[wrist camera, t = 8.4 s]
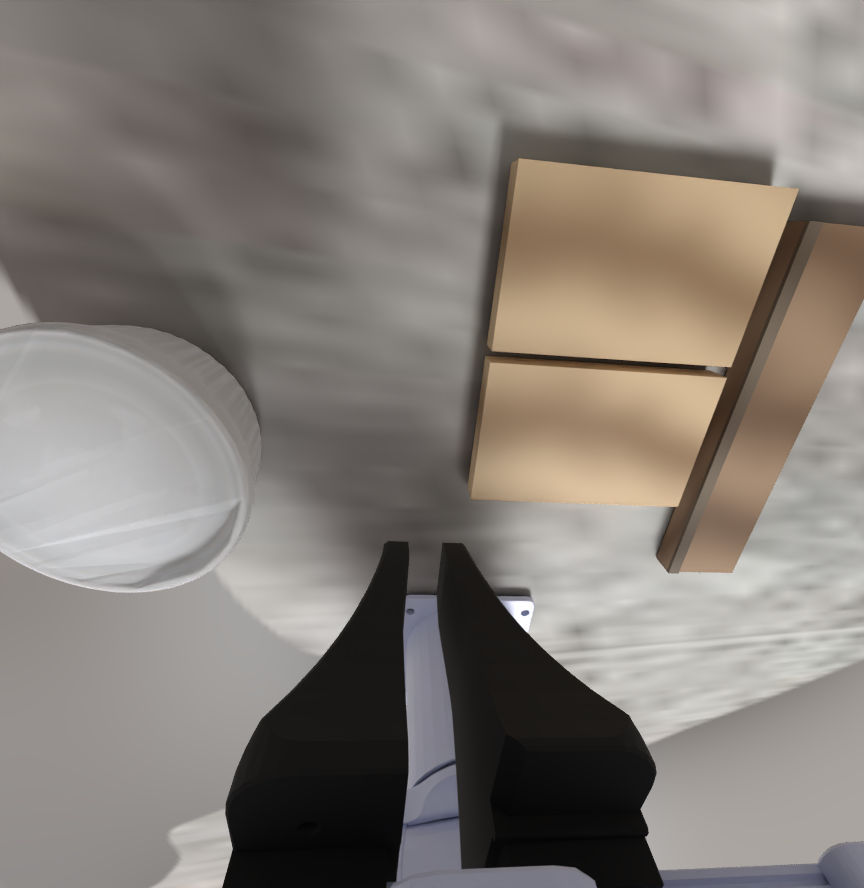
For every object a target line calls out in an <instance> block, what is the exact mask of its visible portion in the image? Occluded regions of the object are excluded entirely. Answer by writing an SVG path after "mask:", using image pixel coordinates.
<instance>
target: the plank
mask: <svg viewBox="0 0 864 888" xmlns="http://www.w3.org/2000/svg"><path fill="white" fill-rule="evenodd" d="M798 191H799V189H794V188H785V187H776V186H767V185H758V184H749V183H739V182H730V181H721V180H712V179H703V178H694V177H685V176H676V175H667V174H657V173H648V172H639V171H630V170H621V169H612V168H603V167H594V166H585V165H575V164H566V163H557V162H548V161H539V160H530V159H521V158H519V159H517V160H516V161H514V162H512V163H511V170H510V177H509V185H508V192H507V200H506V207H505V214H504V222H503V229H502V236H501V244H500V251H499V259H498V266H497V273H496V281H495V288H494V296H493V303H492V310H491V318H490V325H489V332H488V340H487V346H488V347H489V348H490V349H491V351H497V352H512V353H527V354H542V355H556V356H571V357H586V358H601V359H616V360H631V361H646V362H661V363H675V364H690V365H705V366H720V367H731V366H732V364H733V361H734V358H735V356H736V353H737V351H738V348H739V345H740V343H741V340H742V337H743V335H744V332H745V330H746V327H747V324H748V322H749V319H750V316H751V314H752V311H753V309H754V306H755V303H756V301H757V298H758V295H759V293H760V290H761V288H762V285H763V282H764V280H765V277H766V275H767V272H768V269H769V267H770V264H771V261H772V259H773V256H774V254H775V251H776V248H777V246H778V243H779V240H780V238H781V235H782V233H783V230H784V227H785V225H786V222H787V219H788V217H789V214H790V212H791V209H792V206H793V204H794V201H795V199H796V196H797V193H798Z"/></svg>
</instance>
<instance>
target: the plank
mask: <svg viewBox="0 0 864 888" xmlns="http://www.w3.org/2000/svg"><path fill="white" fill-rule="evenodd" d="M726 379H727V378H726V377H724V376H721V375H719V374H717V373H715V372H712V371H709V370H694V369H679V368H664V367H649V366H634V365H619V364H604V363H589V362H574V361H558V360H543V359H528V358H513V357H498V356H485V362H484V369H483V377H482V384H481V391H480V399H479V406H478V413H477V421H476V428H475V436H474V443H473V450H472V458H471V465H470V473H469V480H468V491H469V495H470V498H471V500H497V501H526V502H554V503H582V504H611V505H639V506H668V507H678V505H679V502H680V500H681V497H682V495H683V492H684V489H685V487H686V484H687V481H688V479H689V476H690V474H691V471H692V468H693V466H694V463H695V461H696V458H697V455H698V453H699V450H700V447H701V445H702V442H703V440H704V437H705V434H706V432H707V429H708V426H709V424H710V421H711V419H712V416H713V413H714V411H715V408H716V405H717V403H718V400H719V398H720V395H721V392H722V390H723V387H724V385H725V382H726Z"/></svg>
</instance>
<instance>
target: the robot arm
mask: <svg viewBox="0 0 864 888" xmlns="http://www.w3.org/2000/svg"><path fill="white" fill-rule="evenodd" d="M408 566H409V546H408V542H395V541H388V542H387V543H385V544H384V549H383V553H382V556H381V559H380V562H379V565H378V567H377V570H376V572H375V574H374V576H373V579H372V581H371V583H370V585H369V587H368V589H367V591H366V593H365V595H364V596H363V598H362V600H361V602H360V603H359V605H358V607H357V609H356V610H355V612H354V614H353V615H352V617H351V618H350V620H349V621H348V623H347V624H346V626H345V627H344V629H343V630H342V632H341V633H340V635H339V636H338V637H337V639H336V640H335V641H334V643H333V644H332V645H331V646H330V648H329V649H328V650H327V652H326V653H325V654H324V655H323V657H322V658H321V659H320V660H319V662H318V663H317V664H316V665H315V666H314V667H313V668H312V669H311V670H310V672H309V673H308V674H307V675H306V676H305V677H304V678H303V679H302V680H301V681H300V682H299V683H298V685H297V686H296V687H295V688H294V689H293V690H292V691H291V692H290V693H289V694H288V695H287V696H285V697H284V699H282V700H281V701H280V702H279V703H278V704H277V705H276V706H275V707H274V708H273V709H272V710H271V711H269V713H267V714H266V715H265V716H264V717H263V718H262V719H261V721H260V722H259V724H258V726H257V728H256V730H255V731H254V733H253V735H252V737H251V739H250V741H249V743H248V745H247V747H246V749H245V751H244V753H243V755H242V758H241V760H240V762H239V765H238V767H237V770H236V772H235V776H234V779H233V782H232V785H231V788H230V792H229V795H228V798H227V801H226V812H225V814H226V819H227V824H228V828H229V833H230V838H231V842H232V847H233V851H232V854H231V858H230V862H229V865H228V869H227V873H226V876H225V880H224V884H223V887H222V888H864V842H846V843H839V844H836V845H834V846H832V847H830V848H829V849H827V850H826V851H825V852H824V853H823V854H822V855H821V857H820V858H819V860H818V863H817V864H794V865H772V866H748V867H725V868H702V869H679V870H658V868H657V866H656V863H655V861H654V858H653V856H652V853H651V851H650V848H649V846H648V843H647V841H646V839H645V836H647V835H648V833H649V832H648V827H647V824H646V822H645V820H644V817H643V815H642V812H641V810H640V809H641V807H642V805H643V803H644V801H645V799H646V798H647V796H648V794H649V792H650V790H651V788H652V786H653V783H654V780H655V776H656V766H655V763H654V761H653V759H652V756H651V755H650V752H649V750H648V748H647V746H646V744H645V742H644V740H643V738H642V737H641V735H640V733H639V731H638V730H637V728H636V726H635V725H634V723H633V722H632V720H631V718H630V716H629V715H628V714H626V713H625V712H623V711H622V710H621V709H619V708H618V707H616V706H615V705H613V704H612V703H610V702H609V701H607V700H606V699H604V698H603V697H601V696H600V695H599V694H597V693H596V692H594V691H593V690H591V689H590V688H589V687H588V686H586V685H585V684H584V683H582V682H581V681H580V680H579V679H577V678H576V677H575V676H573V675H572V674H571V673H570V672H569V671H567V670H566V669H565V668H564V667H563V666H562V665H560V664H559V663H558V662H557V661H556V660H555V659H554V658H553V657H551V656H550V655H549V654H548V653H547V652H546V651H545V650H544V649H543V648H542V647H541V646H540V645H539V644H538V643H537V642H536V641H535V640H534V639H533V638H532V637H531V636H530V635H529V634H528V630H529V626H530V622H531V618H532V614H533V610H534V602H533V600H532V598H530V597H527V596H496V594H495V593H494V591H493V590H492V589H491V587H490V586H489V584H488V583H487V581H486V580H485V579H484V577H483V575H482V574H481V572H480V571H479V569H478V568H477V566H476V564H475V563H474V561H473V559H472V558H471V556H470V554H469V552H468V551H467V549H466V547H465V546H464V545H463V544H462V543H443V544H442V552H441V561H440V569H439V578H438V586H437V595H407V596H406V592H407V579H408ZM410 608H411V609H412V610H408V609H410ZM523 610H526V611H523ZM406 704H407V711H406ZM407 789H408V790H407Z"/></svg>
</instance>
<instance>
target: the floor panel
mask: <svg viewBox="0 0 864 888" xmlns="http://www.w3.org/2000/svg"><path fill="white" fill-rule="evenodd" d="M863 299H864V227H863V226H853V225H843V224H833V223H824V222H818V221H787V222H786V225H785V227H784V230H783V233H782V235H781V238H780V240H779V243H778V246H777V248H776V251H775V254H774V256H773V259H772V261H771V264H770V267H769V269H768V272H767V275H766V277H765V280H764V282H763V285H762V288H761V290H760V293H759V295H758V298H757V301H756V303H755V306H754V309H753V311H752V314H751V316H750V319H749V322H748V324H747V327H746V330H745V332H744V335H743V337H742V340H741V343H740V345H739V348H738V351H737V353H736V356H735V358H734V361H733V364H732V366H731V367H728V369H727V372H726V374H725V377H726V378H727V379H726V382H725V385H724V387H723V390H722V392H721V395H720V398H719V400H718V403H717V405H716V408H715V411H714V413H713V416H712V419H711V421H710V424H709V426H708V429H707V432H706V434H705V437H704V440H703V442H702V445H701V447H700V450H699V453H698V455H697V458H696V461H695V463H694V466H693V468H692V471H691V474H690V476H689V479H688V481H687V484H686V487H685V489H684V492H683V495H682V497H681V500H680V502H679V505H678V507H675V509H674V512H673V514H672V517H671V520H670V522H669V525H668V528H667V530H666V533H665V535H664V538H663V541H662V543H661V546H660V549H659V551H658V554H657V557H656V558H657V559H658V560H659V562H660V563H661V564H662V565H663V567H664V568H665V569H666V571H667V572H668V573H679V572H722V573H732V572H733V570H734V568H735V566H736V563H737V561H738V559H739V557H740V555H741V553H742V551H743V549H744V547H745V545H746V543H747V541H748V538H749V536H750V534H751V532H752V530H753V528H754V526H755V524H756V522H757V520H758V518H759V516H760V514H761V511H762V509H763V507H764V505H765V503H766V501H767V499H768V497H769V495H770V493H771V491H772V489H773V486H774V484H775V482H776V480H777V478H778V476H779V474H780V472H781V470H782V468H783V466H784V464H785V462H786V459H787V457H788V455H789V453H790V451H791V449H792V447H793V445H794V443H795V441H796V439H797V437H798V434H799V432H800V430H801V428H802V426H803V424H804V422H805V420H806V418H807V416H808V414H809V412H810V410H811V407H812V405H813V403H814V401H815V399H816V397H817V395H818V393H819V391H820V389H821V387H822V385H823V383H824V380H825V378H826V376H827V374H828V372H829V370H830V368H831V366H832V364H833V362H834V360H835V358H836V355H837V353H838V351H839V349H840V347H841V345H842V343H843V341H844V339H845V337H846V335H847V333H848V331H849V328H850V326H851V324H852V322H853V320H854V318H855V316H856V314H857V312H858V310H859V308H860V306H861V303H862V301H863Z"/></svg>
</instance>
